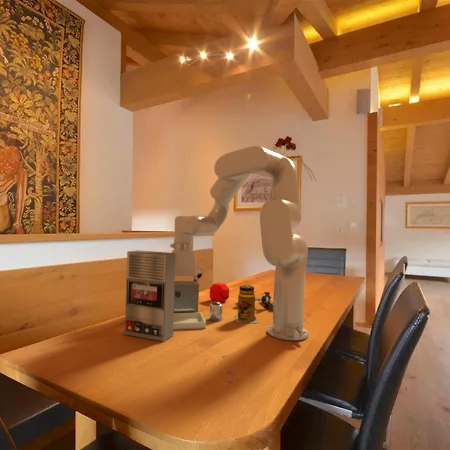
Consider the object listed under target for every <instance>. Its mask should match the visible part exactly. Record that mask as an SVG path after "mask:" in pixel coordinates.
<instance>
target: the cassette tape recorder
mask: <svg viewBox="0 0 450 450" xmlns="http://www.w3.org/2000/svg"><path fill="white" fill-rule="evenodd" d="M126 255H127V256H126V283H125V287H126V289H125V315H124V316H125V318H124V319H125V320H124V321H125V322H124V324H125V325H124V329H123V330H122V334H123V335H125V336H132V337H137V338H142V339H149V340H153V341H159V342H162V343H163V342H165V341H166V340H168V339H170V338H171V337H173V336H174V335H175V334H174V332H175V331H174V330H173V318H174V285H175V279H176V278H175V277H176V276H175V253H172V252H167V251H164V252H163V251H154V250H153V251H151V250H138V249H137V250H129V251H127V253H126Z"/></svg>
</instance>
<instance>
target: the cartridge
mask: <svg viewBox="0 0 450 450" xmlns="http://www.w3.org/2000/svg"><path fill="white" fill-rule="evenodd" d="M223 307H224V306H223V302H218V301H211V302H210V303H209V320H210V321H213V322H219V321H222V320H223V310H224V309H223Z"/></svg>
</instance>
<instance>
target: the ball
mask: <svg viewBox="0 0 450 450" xmlns="http://www.w3.org/2000/svg"><path fill="white" fill-rule="evenodd" d="M209 299H210V300H211V302H214V301H218V302H221V303H225V302H226V301H227V300H228V299H230V289H229V286H228V285H227V284H226V283H223V282H216V283H212V285H211V286H210V287H209Z"/></svg>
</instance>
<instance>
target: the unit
mask: <svg viewBox="0 0 450 450" xmlns="http://www.w3.org/2000/svg"><path fill="white" fill-rule="evenodd" d="M199 293H200V284H199V282H198V281H193V280H185V281H184V280H179V281H178V280H177V281H175V285H174V313H196V312H199V302H200V301H199V300H200V299H199V295H200V294H199Z"/></svg>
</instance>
